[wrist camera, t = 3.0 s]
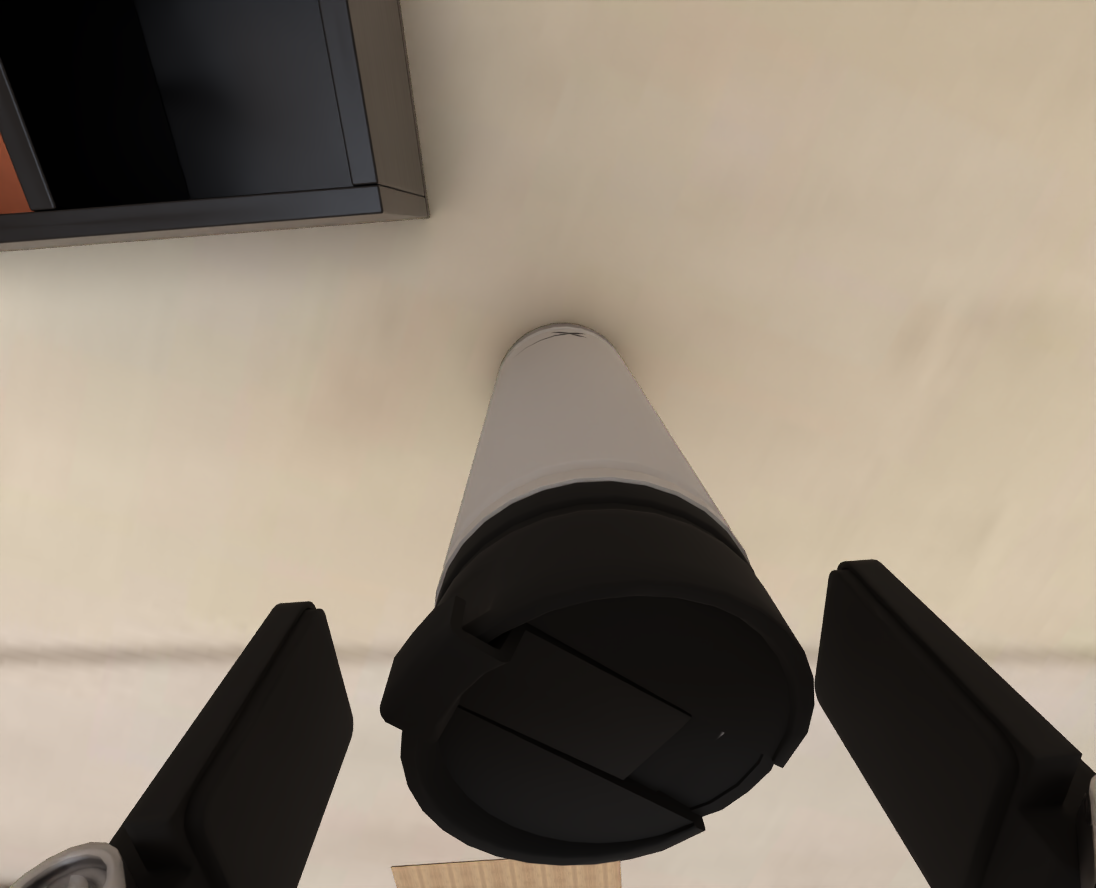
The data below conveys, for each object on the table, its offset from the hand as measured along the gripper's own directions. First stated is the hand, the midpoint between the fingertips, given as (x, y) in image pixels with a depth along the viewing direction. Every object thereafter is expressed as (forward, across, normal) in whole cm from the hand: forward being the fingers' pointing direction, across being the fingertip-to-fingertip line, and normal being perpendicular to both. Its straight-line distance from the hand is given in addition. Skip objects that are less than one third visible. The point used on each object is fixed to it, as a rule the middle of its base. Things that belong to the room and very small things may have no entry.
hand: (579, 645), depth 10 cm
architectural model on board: (+18, +6, +47) cm, 50 cm away
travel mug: (+17, 0, 0) cm, 17 cm away
